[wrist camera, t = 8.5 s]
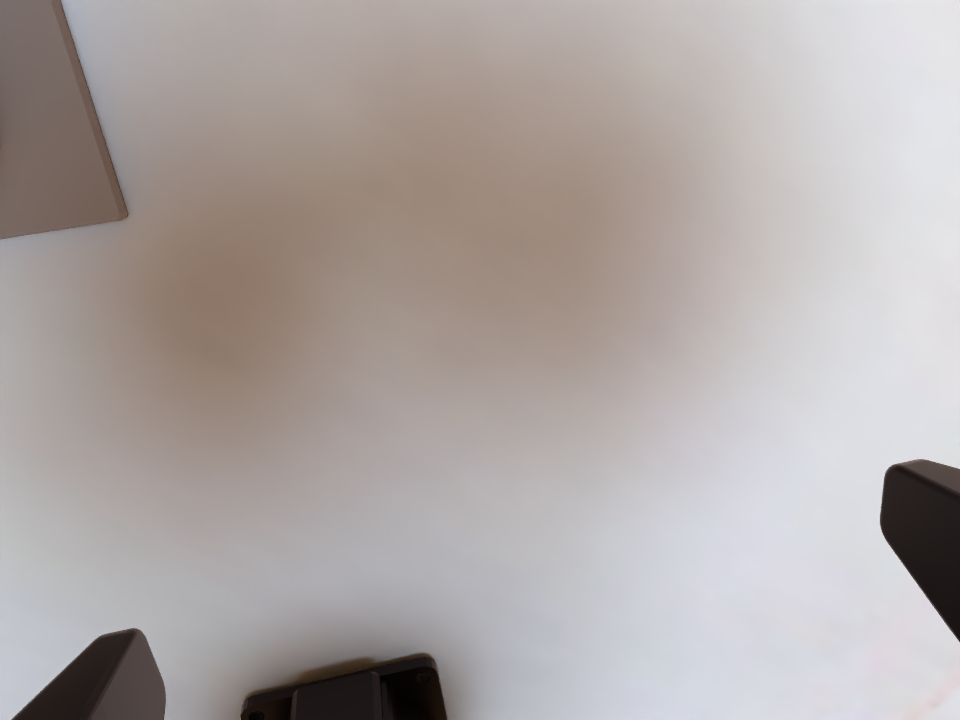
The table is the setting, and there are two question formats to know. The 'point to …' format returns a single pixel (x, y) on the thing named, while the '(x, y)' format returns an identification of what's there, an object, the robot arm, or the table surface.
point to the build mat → (48, 128)
